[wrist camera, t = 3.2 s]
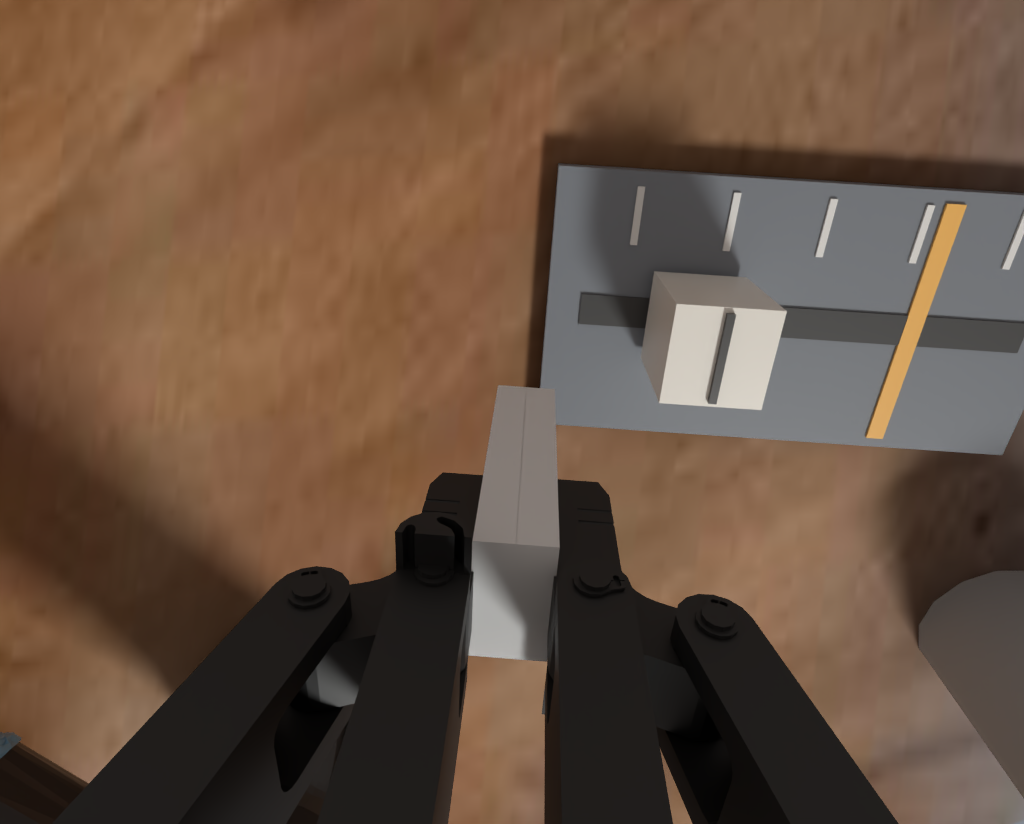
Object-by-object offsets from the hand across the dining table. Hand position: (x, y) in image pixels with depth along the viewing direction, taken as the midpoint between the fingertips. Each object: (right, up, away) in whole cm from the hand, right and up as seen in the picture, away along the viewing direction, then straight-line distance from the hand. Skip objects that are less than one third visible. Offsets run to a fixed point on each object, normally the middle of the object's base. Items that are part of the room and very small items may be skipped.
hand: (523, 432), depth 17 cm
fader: (+8, +5, +11) cm, 14 cm away
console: (+13, +5, +12) cm, 19 cm away
